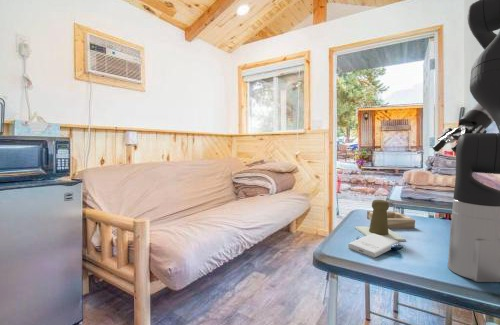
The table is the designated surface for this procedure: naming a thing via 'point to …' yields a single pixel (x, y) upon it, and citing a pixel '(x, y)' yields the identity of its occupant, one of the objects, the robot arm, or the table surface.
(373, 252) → the external hard drive
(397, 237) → the mat
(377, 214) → the cork
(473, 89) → the robot arm
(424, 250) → the table surface
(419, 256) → the table surface
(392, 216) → the holder
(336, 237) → the table surface
